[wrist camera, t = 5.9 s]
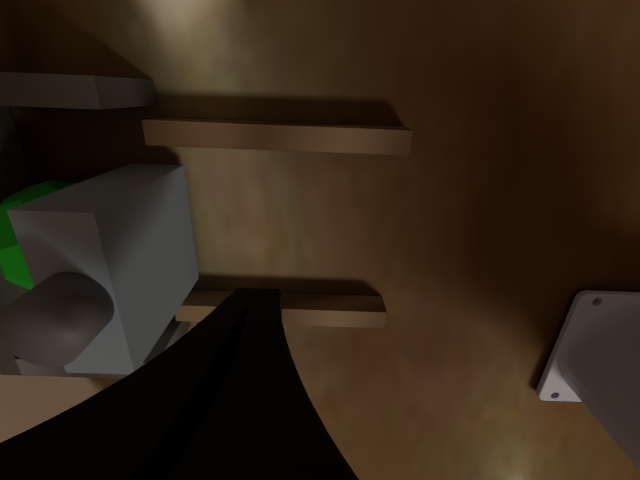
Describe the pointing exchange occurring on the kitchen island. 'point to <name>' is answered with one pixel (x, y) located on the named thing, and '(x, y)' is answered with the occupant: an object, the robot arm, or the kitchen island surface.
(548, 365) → the robot arm
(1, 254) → the polyhedron
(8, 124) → the pitch goal
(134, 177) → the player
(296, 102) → the kitchen island surface
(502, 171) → the kitchen island surface
